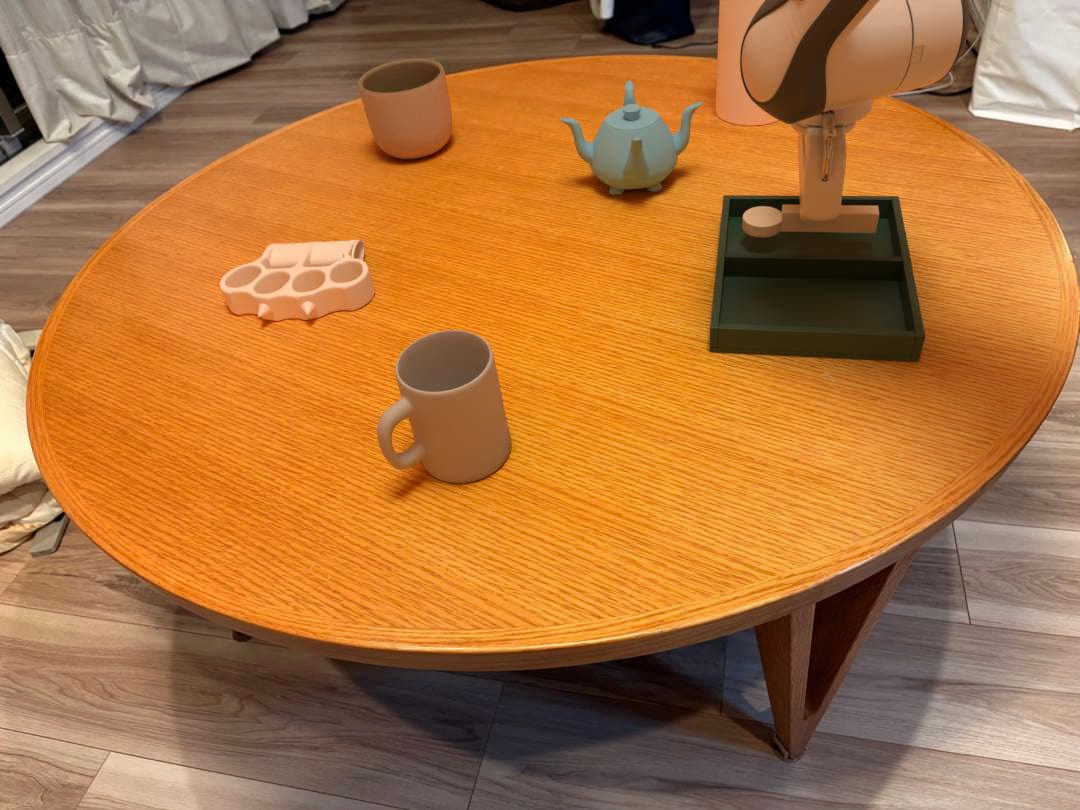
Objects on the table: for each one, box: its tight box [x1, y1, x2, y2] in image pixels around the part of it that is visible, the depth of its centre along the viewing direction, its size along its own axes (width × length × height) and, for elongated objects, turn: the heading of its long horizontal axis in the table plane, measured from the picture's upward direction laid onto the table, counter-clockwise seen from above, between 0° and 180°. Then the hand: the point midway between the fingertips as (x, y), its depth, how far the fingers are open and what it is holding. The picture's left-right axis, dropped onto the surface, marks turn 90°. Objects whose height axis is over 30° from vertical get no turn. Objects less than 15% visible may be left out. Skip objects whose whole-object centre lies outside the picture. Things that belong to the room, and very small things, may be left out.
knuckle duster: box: [219, 238, 376, 322], centre depth 98 cm, size 3×18×15 cm
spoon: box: [742, 205, 879, 237], centre depth 91 cm, size 14×4×2 cm, turn 78°
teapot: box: [558, 80, 703, 196], centre depth 106 cm, size 13×13×10 cm
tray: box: [708, 194, 926, 363], centre depth 88 cm, size 20×26×3 cm
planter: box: [357, 58, 453, 160], centre depth 120 cm, size 12×12×11 cm
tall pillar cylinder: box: [715, 0, 780, 127], centre depth 112 cm, size 11×11×25 cm
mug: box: [376, 329, 512, 484], centre depth 72 cm, size 12×8×11 cm
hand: (810, 214), depth 90 cm, fingers closed on spoon, 2 cm apart
